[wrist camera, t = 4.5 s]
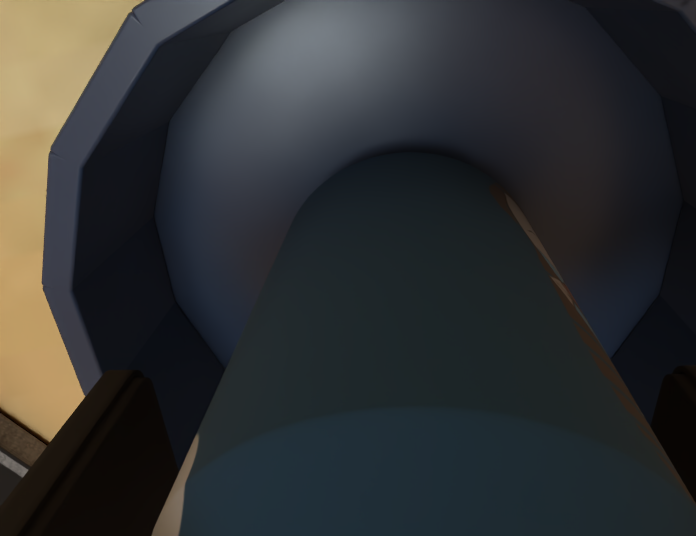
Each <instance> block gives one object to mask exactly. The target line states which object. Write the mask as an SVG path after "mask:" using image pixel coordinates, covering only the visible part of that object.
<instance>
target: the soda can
mask: <svg viewBox="0 0 696 536" xmlns="http://www.w3.org/2000/svg"><path fill="white" fill-rule="evenodd" d="M152 536H696V503H695V501H694V500H693V498H692V496H691V495H690V493H689V491H688V489H687V488H686V486H685V484H684V483H683V481H682V479H681V478H680V476H679V474H678V473H677V471H676V469H675V468H674V466H673V464H672V463H671V461H670V459H669V457H668V456H667V454H666V452H665V451H664V449H663V447H662V446H661V444H660V442H659V441H658V439H657V437H656V436H655V434H654V432H653V431H652V429H651V427H650V425H649V424H648V422H647V420H646V419H645V417H644V415H643V414H642V412H641V410H640V409H639V407H638V405H637V404H636V402H635V400H634V399H633V397H632V395H631V394H630V392H629V390H628V388H627V387H626V385H625V383H624V382H623V380H622V378H621V377H620V375H619V373H618V372H617V370H616V368H615V367H614V365H613V363H612V362H611V360H610V358H609V356H608V355H607V353H606V351H605V350H604V348H603V346H602V345H601V343H600V341H599V340H598V338H597V336H596V335H595V333H594V331H593V330H592V328H591V326H590V324H589V323H588V321H587V319H586V318H585V316H584V314H583V313H582V311H581V309H580V308H579V306H578V304H577V303H576V301H575V299H574V298H573V296H572V294H571V292H570V291H569V289H568V287H567V286H566V284H565V282H564V281H563V279H562V277H561V276H560V274H559V272H558V271H557V269H556V267H555V266H554V264H553V262H552V260H551V259H550V257H549V255H548V254H547V252H546V250H545V249H544V247H543V245H542V244H541V242H540V240H539V239H538V237H537V235H536V234H535V232H534V230H533V228H532V227H531V225H530V223H529V222H528V220H527V218H526V217H525V215H524V213H523V212H522V210H521V209H520V207H519V206H518V204H517V203H516V201H515V200H514V199H513V198H512V196H511V195H510V194H509V193H508V192H507V191H506V190H505V189H504V188H503V187H502V186H501V185H500V184H498V183H497V182H496V181H495V180H493V179H492V178H491V177H489V176H488V175H486V174H485V173H483V172H482V171H480V170H478V169H476V168H474V167H473V166H471V165H469V164H466V163H464V162H461V161H459V160H456V159H452V158H449V157H445V156H441V155H436V154H430V153H419V152H402V153H392V154H386V155H380V156H376V157H372V158H369V159H366V160H363V161H360V162H358V163H355V164H353V165H351V166H349V167H347V168H345V169H343V170H341V171H339V172H338V173H336V174H335V175H333V176H332V177H330V178H329V179H328V180H326V181H325V182H324V183H322V184H321V185H320V186H319V187H318V188H317V189H316V190H315V191H314V192H313V193H312V194H311V195H310V196H309V197H308V198H307V200H306V201H305V202H304V203H303V205H302V206H301V208H300V209H299V210H298V212H297V214H296V216H295V217H294V219H293V221H292V223H291V226H290V228H289V230H288V232H287V234H286V237H285V239H284V241H283V243H282V245H281V248H280V250H279V252H278V254H277V257H276V259H275V261H274V263H273V265H272V268H271V270H270V272H269V274H268V276H267V279H266V281H265V283H264V285H263V288H262V290H261V292H260V294H259V296H258V299H257V301H256V303H255V305H254V307H253V310H252V312H251V314H250V316H249V319H248V321H247V323H246V325H245V327H244V330H243V332H242V334H241V336H240V339H239V341H238V343H237V345H236V347H235V350H234V352H233V354H232V356H231V358H230V361H229V363H228V365H227V367H226V370H225V372H224V374H223V376H222V378H221V381H220V383H219V385H218V387H217V389H216V392H215V394H214V396H213V398H212V401H211V403H210V405H209V407H208V409H207V412H206V414H205V416H204V418H203V420H202V423H201V425H200V427H199V429H198V432H197V434H196V436H195V438H194V440H193V443H192V445H191V447H190V449H189V451H188V454H187V456H186V458H185V460H184V463H183V465H182V467H181V469H180V471H179V474H178V476H177V478H176V480H175V482H174V485H173V487H172V489H171V491H170V494H169V496H168V498H167V500H166V502H165V505H164V507H163V509H162V511H161V513H160V516H159V518H158V520H157V522H156V525H155V527H154V529H153V532H152Z"/></svg>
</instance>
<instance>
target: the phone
mask: <svg viewBox="0 0 696 536" xmlns="http://www.w3.org/2000/svg"><path fill="white" fill-rule="evenodd" d="M46 447H47V446H46V445H45V444H44V443H42V442H41V441H39V440H38V439H36V438H35V437H34V436H32V435H31V434H29V433H28V432H26V431H25V430H24V429H22V428H21V427H19V426H18V425H16V424H15V423H14V422H12V421H11V420H9V419H8V418H6V417H5V416H4V415H2V414H1V413H0V506H1V505H2V504H3V502H4V501H5V500H6V499H7V497H8V496H9V495H10V493H11V492H12V491H13V489H14V488H15V487H16V486H17V484H18V483H19V482H20V480H21V479H22V478H23V477H24V475H25V474H26V473H27V471H28V470H29V469H30V468H31V466H32V465H33V464H34V462H35V461H36V460H37V459H38V457H39V456H40V455H41V453H42V452H43V451H44V450H45V448H46Z"/></svg>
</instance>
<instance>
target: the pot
mask: <svg viewBox="0 0 696 536" xmlns="http://www.w3.org/2000/svg"><path fill="white" fill-rule="evenodd" d="M402 152H419V153H430V154H436V155H441V156H445V157H449V158H452V159H456V160H459V161H461V162H464V163H466V164H469V165H471V166H473V167H474V168H476V169H478V170H480V171H482V172H483V173H485V174H486V175H488V176H489V177H491V178H492V179H493V180H495V181H496V182H497V183H498V184H500V185H501V186H502V187H503V188H504V189H505V190H506V191H507V192H508V193H509V194H510V195H511V196H512V198H513V199H514V200H515V201H516V203H517V204H518V206H519V207H520V209H521V210H522V212H523V213H524V215H525V217H526V218H527V220H528V222H529V223H530V225H531V227H532V228H533V230H534V232H535V234H536V235H537V237H538V239H539V240H540V242H541V244H542V245H543V247H544V249H545V250H546V252H547V254H548V255H549V257H550V259H551V260H552V262H553V264H554V266H555V267H556V269H557V271H558V272H559V274H560V276H561V277H562V279H563V281H564V282H565V284H566V286H567V287H568V289H569V291H570V292H571V294H572V296H573V298H574V299H575V301H576V303H577V304H578V306H579V308H580V309H581V311H582V313H583V314H584V316H585V318H586V319H587V321H588V323H589V324H590V326H591V328H592V330H593V331H594V333H595V335H596V336H597V338H598V340H599V341H600V343H601V345H602V346H603V348H604V350H605V351H606V353H607V355H608V356H609V358H610V360H611V362H612V363H613V365H614V367H615V368H616V370H617V372H618V373H619V375H620V377H621V378H622V380H623V382H624V383H625V385H626V387H627V388H628V390H629V392H630V394H631V395H632V397H633V399H634V400H635V402H636V404H637V405H638V407H639V409H640V410H641V412H642V414H643V415H644V417H645V419H646V420H647V422H648V424H649V425H651V422H652V418H653V414H654V410H655V407H656V403H657V399H658V395H659V392H660V388H661V384H662V381H663V378H664V377H665V376H666V375H667V374H672V373H673V370H674V369H675V368H676V367H677V366H685V365H696V0H144V1H143V2H141V3H140V4H138V5H137V6H135V7H134V8H133V9H132V12H130V13H129V14H128V15H127V17H126V19H125V21H124V22H123V24H122V26H121V27H120V29H119V31H118V33H117V34H116V36H115V38H114V39H113V41H112V43H111V45H110V46H109V48H108V50H107V51H106V53H105V55H104V57H103V58H102V60H101V62H100V63H99V65H98V67H97V69H96V70H95V72H94V74H93V75H92V77H91V79H90V81H89V82H88V84H87V86H86V87H85V89H84V91H83V93H82V94H81V96H80V98H79V99H78V101H77V103H76V105H75V106H74V108H73V110H72V112H71V113H70V115H69V117H68V118H67V120H66V122H65V124H64V125H63V127H62V129H61V130H60V132H59V134H58V136H57V137H56V139H55V141H54V142H53V144H52V146H51V151H50V153H49V159H48V178H47V196H46V214H45V233H44V251H43V270H42V285H44V286H43V291H44V293H45V296H46V298H47V301H48V303H49V306H50V309H51V311H52V314H53V316H54V319H55V321H56V324H57V326H58V329H59V332H60V334H61V337H62V339H63V342H64V344H65V347H66V350H67V352H68V355H69V357H70V360H71V362H72V365H73V367H74V370H75V373H76V375H77V378H78V380H79V383H80V385H81V388H82V391H83V393H84V395H85V396H87V394H88V393H89V392H90V390H91V389H92V388H93V387H94V385H95V384H96V383H97V381H98V380H99V379H100V377H101V376H102V375H103V374H104V373H105V372H106V371H108V370H140V371H141V372H142V373H143V375H144V377H148V378H150V379H151V380H152V383H153V386H154V389H155V393H156V396H157V399H158V403H159V406H160V409H161V413H162V416H163V420H164V423H165V426H166V430H167V433H168V436H169V440H170V443H171V447H172V450H173V453H174V457H175V460H176V463H177V467H178V470H179V471H180V469H181V467H182V465H183V463H184V460H185V458H186V456H187V454H188V451H189V449H190V447H191V445H192V443H193V440H194V438H195V436H196V434H197V432H198V429H199V427H200V425H201V423H202V420H203V418H204V416H205V414H206V412H207V409H208V407H209V405H210V403H211V401H212V398H213V396H214V394H215V392H216V389H217V387H218V385H219V383H220V381H221V378H222V376H223V374H224V372H225V370H226V367H227V365H228V363H229V361H230V358H231V356H232V354H233V352H234V350H235V347H236V345H237V343H238V341H239V339H240V336H241V334H242V332H243V330H244V327H245V325H246V323H247V321H248V319H249V316H250V314H251V312H252V310H253V307H254V305H255V303H256V301H257V299H258V296H259V294H260V292H261V290H262V288H263V285H264V283H265V281H266V279H267V276H268V274H269V272H270V270H271V268H272V265H273V263H274V261H275V259H276V257H277V254H278V252H279V250H280V248H281V245H282V243H283V241H284V239H285V237H286V234H287V232H288V230H289V228H290V226H291V223H292V221H293V219H294V217H295V216H296V214H297V212H298V210H299V209H300V208H301V206H302V205H303V203H304V202H305V201H306V200H307V198H308V197H309V196H310V195H311V194H312V193H313V192H314V191H315V190H316V189H317V188H318V187H319V186H320V185H321V184H322V183H324V182H325V181H326V180H328V179H329V178H330V177H332V176H333V175H335V174H336V173H338V172H339V171H341V170H343V169H345V168H347V167H349V166H351V165H353V164H355V163H358V162H360V161H363V160H366V159H369V158H372V157H376V156H380V155H386V154H392V153H402Z"/></svg>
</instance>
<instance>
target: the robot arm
mask: <svg viewBox="0 0 696 536" xmlns="http://www.w3.org/2000/svg"><path fill="white" fill-rule="evenodd" d="M650 427H651V429H652V431H653V432H654V434H655V436H656V437H657V439H658V441H659V442H660V444H661V446H662V447H663V449H664V451H665V452H666V454H667V456H668V457H669V459H670V461H671V463H672V464H673V466H674V468H675V469H676V471H677V473H678V474H679V476H680V478H681V479H682V481H683V483H684V484H685V486H686V488H687V489H688V491H689V493H690V495H691V496H692V498H693V500H694V501H695V503H696V365H685V366H677V367H676V368H675V369H674V370H673V373H672V374H667V375H666V376H665V377H664V378H663V381H662V384H661V388H660V392H659V395H658V399H657V403H656V407H655V410H654V414H653V418H652V422H651V425H650ZM178 474H179V470H178V467H177V463H176V460H175V457H174V453H173V450H172V447H171V443H170V440H169V436H168V433H167V430H166V426H165V423H164V420H163V416H162V413H161V409H160V406H159V403H158V399H157V396H156V393H155V389H154V386H153V383H152V380H151V379H150V378H148V377H144V375H143V373H142V372H141V371H140V370H108V371H106V372H105V373H104V374H103V375H102V376H101V377H100V379H99V380H98V381H97V383H96V384H95V385H94V387H93V388H92V389H91V390H90V392H89V393H88V394H87V396H86V397H85V398H84V399H83V401H82V402H81V403H80V405H79V406H78V407H77V408H76V410H75V411H74V412H73V414H72V415H71V416H70V417H69V419H68V420H67V421H66V423H65V424H64V425H63V426H62V428H61V429H60V430H59V432H58V433H57V434H56V435H55V437H54V438H53V439H52V441H51V442H50V443H49V444H48V446H47V447H46V448H45V450H44V451H43V452H42V453H41V455H40V456H39V457H38V459H37V460H36V461H35V462H34V464H33V465H32V466H31V468H30V469H29V470H28V471H27V473H26V474H25V475H24V477H23V478H22V479H21V480H20V482H19V483H18V484H17V486H16V487H15V488H14V489H13V491H12V492H11V493H10V495H9V496H8V497H7V499H6V500H5V501H4V502H3V504H2V505H1V506H0V536H152V532H153V529H154V527H155V525H156V522H157V520H158V518H159V516H160V513H161V511H162V509H163V507H164V505H165V502H166V500H167V498H168V496H169V494H170V491H171V489H172V487H173V485H174V482H175V480H176V478H177V476H178Z"/></svg>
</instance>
